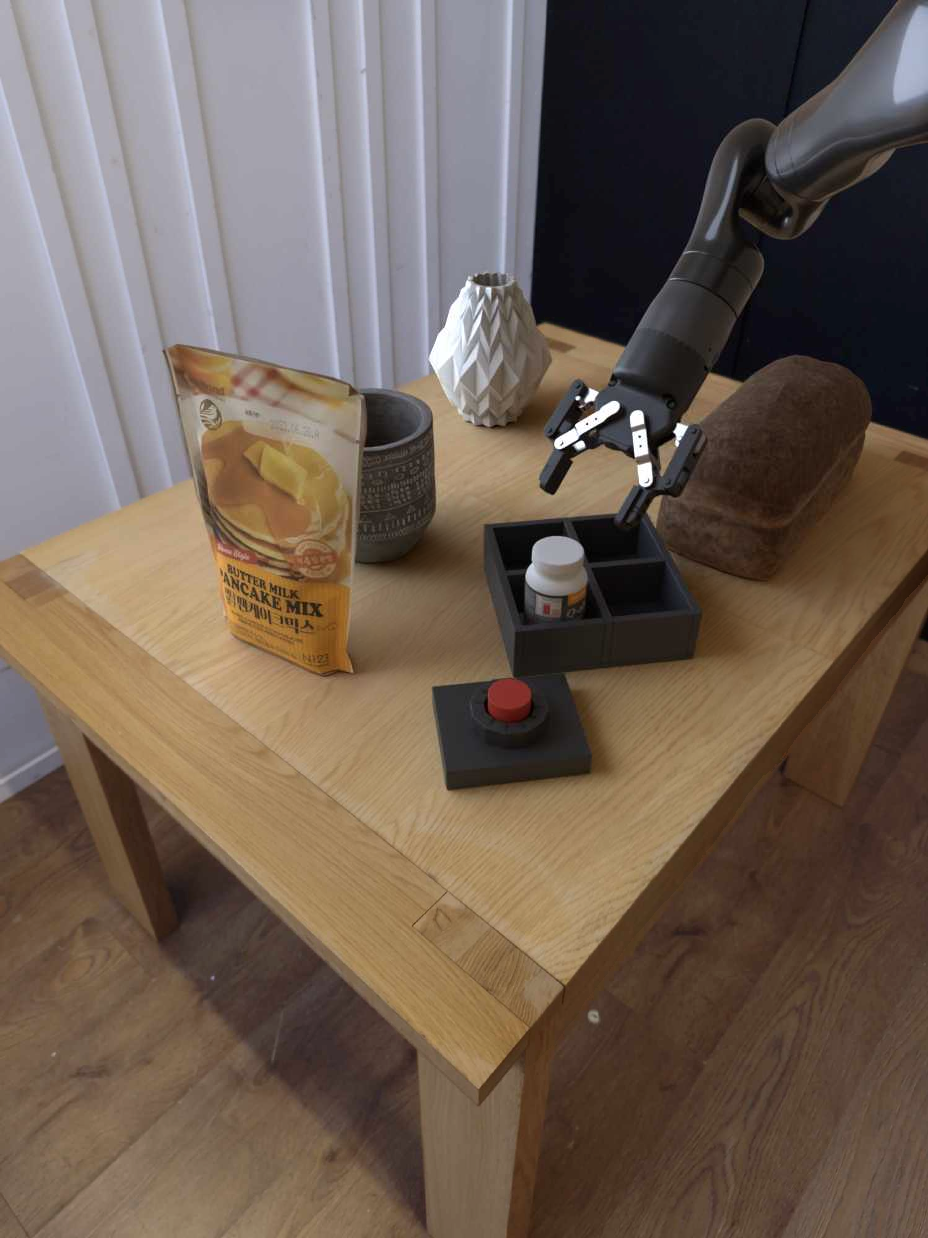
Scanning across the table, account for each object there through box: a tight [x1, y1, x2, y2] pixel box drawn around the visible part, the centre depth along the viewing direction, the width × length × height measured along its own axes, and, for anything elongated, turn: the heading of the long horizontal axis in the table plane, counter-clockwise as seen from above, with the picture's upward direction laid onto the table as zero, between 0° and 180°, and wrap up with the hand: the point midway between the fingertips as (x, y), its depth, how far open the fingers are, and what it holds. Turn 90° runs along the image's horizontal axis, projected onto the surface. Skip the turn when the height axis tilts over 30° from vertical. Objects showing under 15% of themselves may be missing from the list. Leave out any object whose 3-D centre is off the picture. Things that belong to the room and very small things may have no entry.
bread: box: [655, 354, 873, 581], centre depth 99 cm, size 15×32×16 cm, turn 143°
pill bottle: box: [524, 536, 588, 625], centre depth 82 cm, size 6×6×10 cm
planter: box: [354, 387, 437, 564], centre depth 95 cm, size 14×14×15 cm
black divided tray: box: [483, 511, 703, 678], centre depth 88 cm, size 17×17×6 cm
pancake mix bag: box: [161, 343, 367, 677], centre depth 78 cm, size 7×19×28 cm, turn 58°
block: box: [431, 672, 593, 791], centre depth 75 cm, size 12×10×4 cm
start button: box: [488, 679, 531, 723], centre depth 73 cm, size 4×4×2 cm
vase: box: [428, 270, 553, 428], centre depth 117 cm, size 16×16×18 cm
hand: (582, 509), depth 79 cm, fingers open, 8 cm apart
